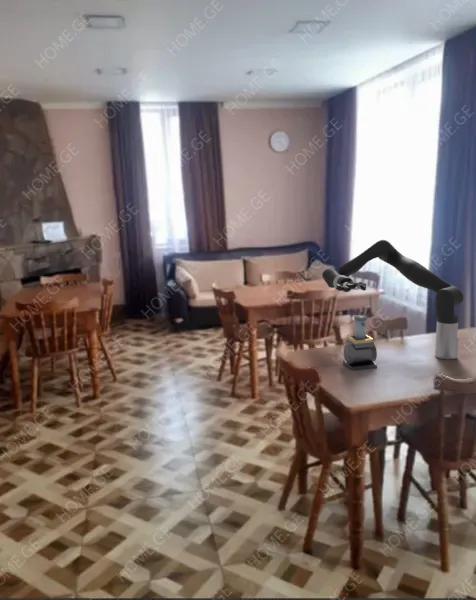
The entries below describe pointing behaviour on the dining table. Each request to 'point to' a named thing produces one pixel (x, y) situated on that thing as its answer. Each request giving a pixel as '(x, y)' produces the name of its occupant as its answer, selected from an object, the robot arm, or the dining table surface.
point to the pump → (360, 327)
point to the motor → (360, 353)
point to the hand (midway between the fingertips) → (356, 289)
